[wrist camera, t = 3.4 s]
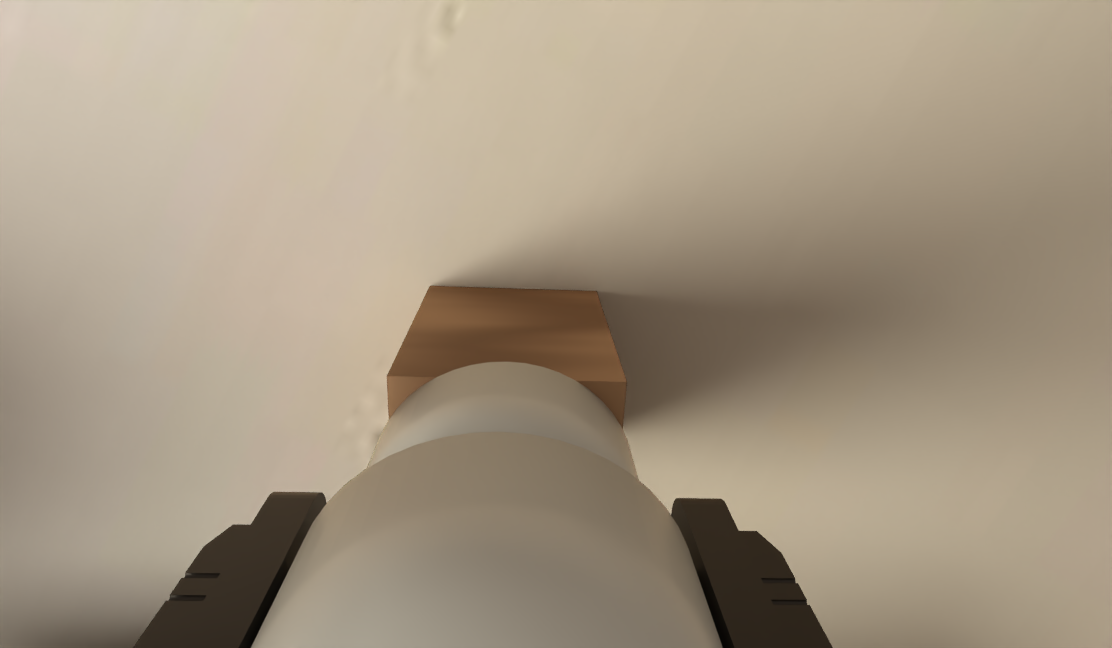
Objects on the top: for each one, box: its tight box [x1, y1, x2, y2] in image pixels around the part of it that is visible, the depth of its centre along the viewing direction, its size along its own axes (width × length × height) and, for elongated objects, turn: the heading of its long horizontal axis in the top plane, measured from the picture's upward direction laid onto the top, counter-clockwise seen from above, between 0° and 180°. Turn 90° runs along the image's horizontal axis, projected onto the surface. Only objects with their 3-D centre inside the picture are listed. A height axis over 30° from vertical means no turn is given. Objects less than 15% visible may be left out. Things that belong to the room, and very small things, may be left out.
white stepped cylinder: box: [251, 362, 723, 648], centre depth 9 cm, size 6×6×8 cm
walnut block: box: [387, 286, 627, 429], centre depth 15 cm, size 4×4×6 cm
